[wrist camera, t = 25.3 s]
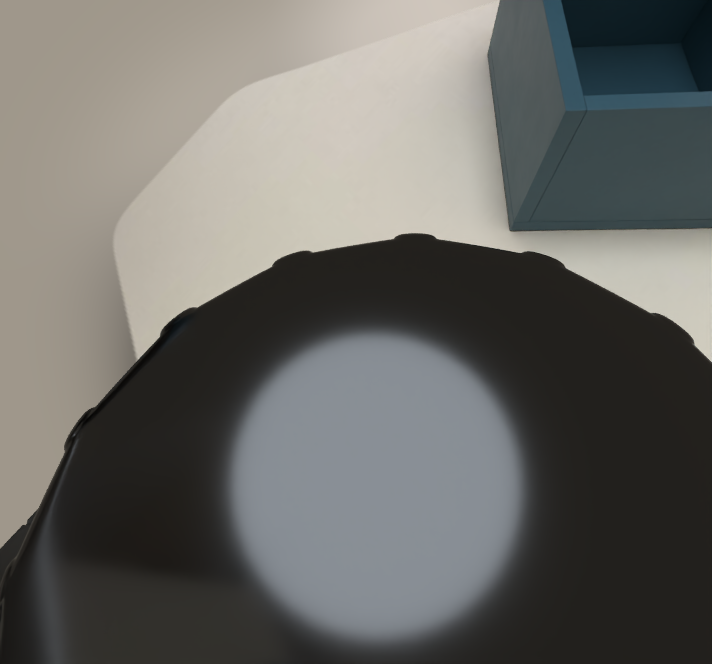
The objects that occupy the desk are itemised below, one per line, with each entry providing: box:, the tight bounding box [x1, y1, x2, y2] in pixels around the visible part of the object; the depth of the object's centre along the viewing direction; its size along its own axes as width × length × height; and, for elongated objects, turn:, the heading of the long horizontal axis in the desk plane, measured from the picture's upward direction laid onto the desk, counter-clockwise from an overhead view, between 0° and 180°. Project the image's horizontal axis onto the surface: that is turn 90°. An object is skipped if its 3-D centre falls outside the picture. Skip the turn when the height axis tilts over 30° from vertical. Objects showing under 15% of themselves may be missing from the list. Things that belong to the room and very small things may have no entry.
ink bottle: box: [0, 233, 712, 664], centre depth 9 cm, size 10×9×12 cm
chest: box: [488, 0, 712, 231], centre depth 28 cm, size 18×16×10 cm
